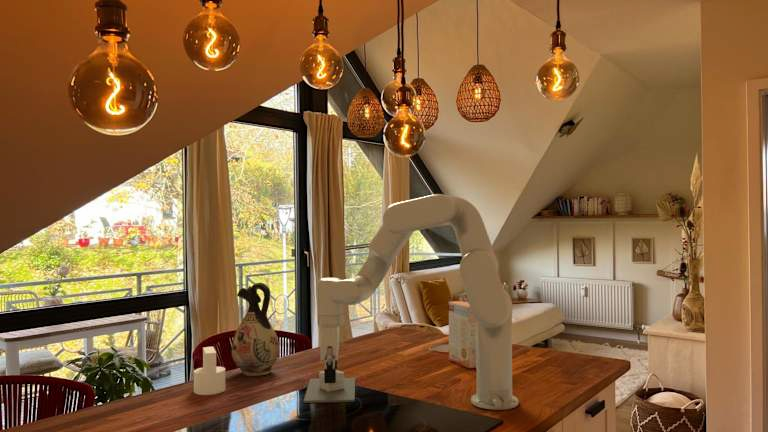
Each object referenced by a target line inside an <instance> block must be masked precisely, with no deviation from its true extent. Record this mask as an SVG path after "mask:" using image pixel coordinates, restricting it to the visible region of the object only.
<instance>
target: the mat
mask: <svg viewBox="0 0 768 432" xmlns="http://www.w3.org/2000/svg"><path fill="white" fill-rule="evenodd" d="M355 390H356V377H344V389H340V390H335V391H330V392H327V391H325V390H323V389H321V388H319V378H310V379H309V381H308V384H307V389H306V391H305V395H304V398H303V403H304V404H306V403H307V404H308V403H311V404H312V403H316V404H317V403H353V402H354V403H355V399H356V391H355Z"/></svg>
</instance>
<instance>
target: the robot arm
mask: <svg viewBox="0 0 768 432" xmlns="http://www.w3.org/2000/svg"><path fill="white" fill-rule="evenodd" d="M382 222H383V223H382V224H381V226H380V227H379V229H378V230H377V232H376V233H375V235H374V236H373V238H372V239H371V241H370V242H369V244H368V255H367V258H366V260H365V262H364V264H363V265H362V266H361V268H360V269H359V271H358V272H357V274H356V275H355V276H353V277H351V278H348V279H341V278H339V277H321V278H320V279H318V281H317V285H316V287H317V289H316V290H317V291H316V293H317V294H316V295H317V297H316V299H317V303H316V305H317V307H316V308H317V309H316V310H317V326H318V327H320V358H319V359H320V361H321V362H323V361H324V370H323V371H324V382H325V383H335V382H336V370H338V357H339V351H340V350H339V349H340V348H339V347H340V327H342V326H343V325H344V305H347V306H353V305H354V306H355V305H358V304H360V303H362V302H364V301H366V300H368V299H369V298H371V297H372V296H373V294H374V293H375V292H376V290H377V289H378V287H379V286H380V284H381V283H382V281H383V280H384V278H385V277H386V275H387V273H388V271H390V268H391V267H392V265H393V263H394V261H395V260H396V258H397V256H398V255H399V253H400V252H401V251H402V249H403V248H404V246H405V245H406V244H407V242H408V240H409V239H410V238H411V236H412V235H413V233H414V232H417V231H421V230H426V229H430V228H436V227H443V226H450V227H452V229H453V231H454V234H455V237H456V238H455V239H456V241H457V244H458V246H459V250H460V254H461V257H462V259H461V260H460V263H459V275H460V279H461V283H462V287H463V289H464V291H465V295H466V298H467V302H468V303H469V305H470V309H471V312H472V314H473V316H474V318H475V320H476V321H477V325H476V368H475V369H476V393H475V394H473V395H472V396H471V398H470V402H471V404H472V405H474V406H475V407H477V408H480V409H485V410H493V411H503V410H504V411H505V410H511V409H513V408H516V407H518V406H519V399H518V397H516V396H515V395H513V302H512V298H511V295H510V294H509V292H508V291H506V290H505V289H504V288H503V285H502V282H501V279H500V276H499V262H498V259H497V257H496V255H495V251H494V248H493V246H492V243H491V239H490V236H489V233H488V231H487V228H486V225H485V222H484V221H483V217H482V215H481V214H480V212H479V210H478V209H477V207H476V206H474V205H473V204H472V202H470V201H468V200H466V199H465V198H462V197H459V196H456V195H450V194H442V193H436V194H431V195H427V196H426V195H425V196H423V197H418V198H413V199H408V200H405V201H400V202H395V203H392V204H389V206H388V207H387V208H386V209H385V210H384V212H383V215H382Z"/></svg>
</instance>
